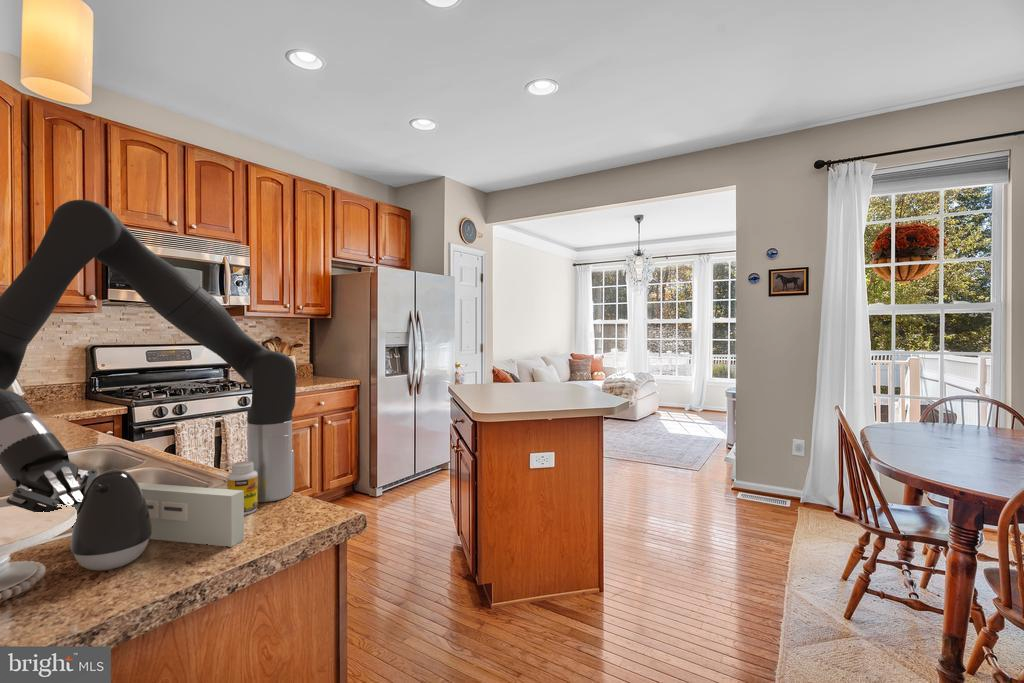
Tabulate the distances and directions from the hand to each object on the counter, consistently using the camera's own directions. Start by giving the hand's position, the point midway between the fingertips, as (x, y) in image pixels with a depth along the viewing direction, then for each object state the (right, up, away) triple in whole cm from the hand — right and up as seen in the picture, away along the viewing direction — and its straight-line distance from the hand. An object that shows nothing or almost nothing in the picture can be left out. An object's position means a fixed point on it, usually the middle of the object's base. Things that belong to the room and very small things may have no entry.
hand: (85, 525), depth 80 cm
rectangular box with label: (+8, -6, +9) cm, 14 cm away
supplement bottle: (+14, -6, +22) cm, 27 cm away
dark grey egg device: (+5, -6, -1) cm, 8 cm away
